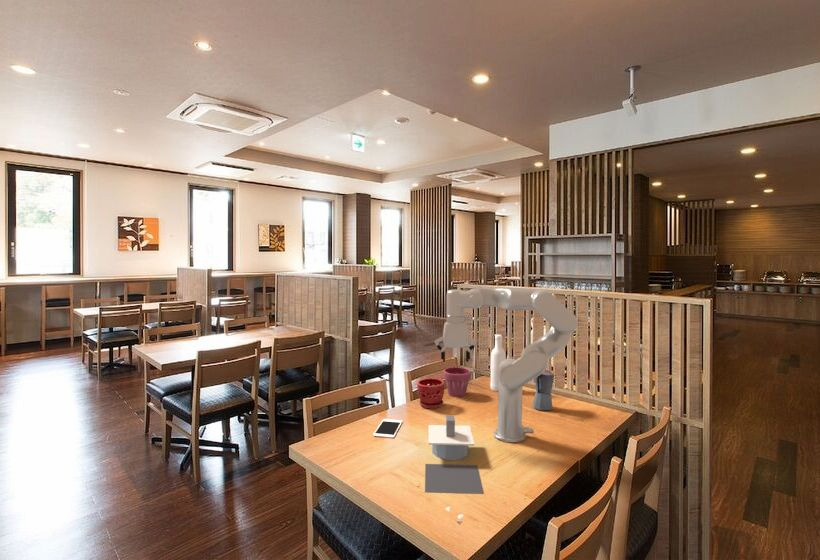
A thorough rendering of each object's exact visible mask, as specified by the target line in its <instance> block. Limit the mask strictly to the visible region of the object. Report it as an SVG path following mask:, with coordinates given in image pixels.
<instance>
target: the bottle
mask: <svg viewBox="0 0 820 560" xmlns="http://www.w3.org/2000/svg"><path fill="white" fill-rule="evenodd" d="M494 339H495V340H494V348H493V349H492V350H491V353H490V386H489V387H490V390H491V391H493V392H498V369H499V366H500V364H501V362H502V361H504V360H505V359H506V358H507V357H506V351H505V349H504V348H503V335H502V334H495V336H494Z"/></svg>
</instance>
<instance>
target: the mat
mask: <svg viewBox="0 0 820 560" xmlns="http://www.w3.org/2000/svg"><path fill="white" fill-rule="evenodd" d="M424 466H425V468H424V469H425V471H424V472H425V473H424V481H425V482H424V493H428V494H429V493H431V494H433V493H434V494H436V493H437V494H440V493H441V494H464V495H465V494H468V495H469V494H470V495H473V494H474V495H484V488H483V484H482V479H481V476H480V470H479V466H478V464H450V463H449V464H445V463H443V464H442V463H425V464H424Z"/></svg>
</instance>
